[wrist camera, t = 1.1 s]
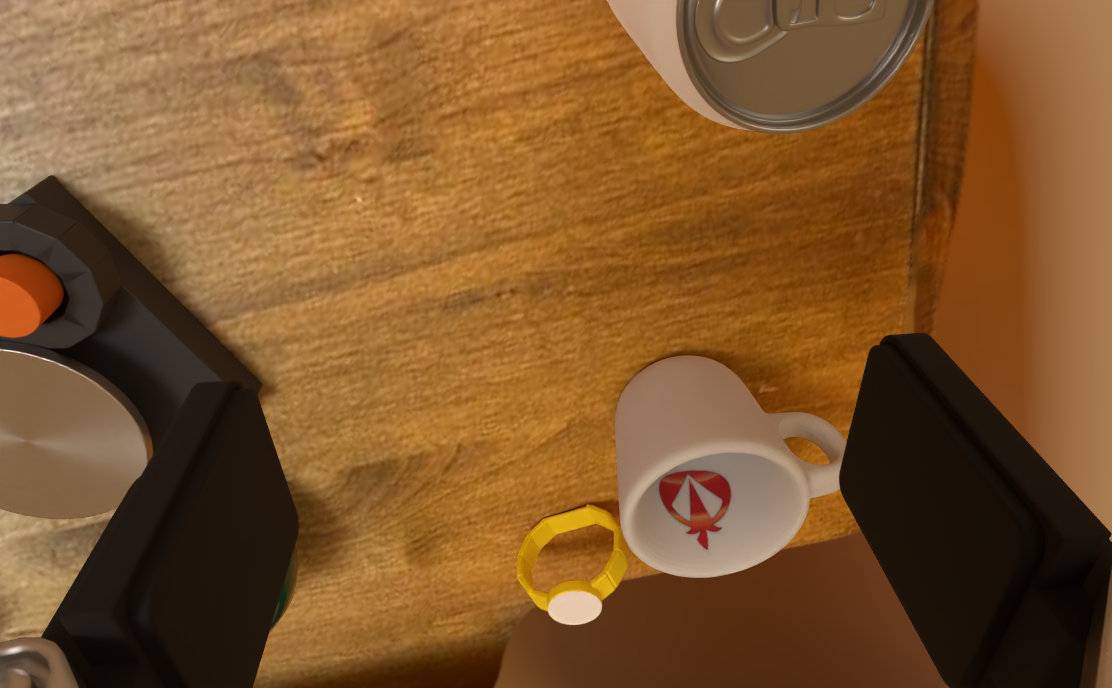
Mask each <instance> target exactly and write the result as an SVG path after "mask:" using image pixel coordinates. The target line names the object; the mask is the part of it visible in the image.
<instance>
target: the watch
mask: <svg viewBox="0 0 1112 688" xmlns="http://www.w3.org/2000/svg"><path fill="white" fill-rule="evenodd" d="M593 524H599V525H601V526H603V527H606V528H608V529H610V530H612V531H613V532H614V551H613V553H612V555H611V557H610V559H609V561H608V562H607V564H606V566H605V568H604V570H603V572H601V573H600V574H599V575H598V576H597V577H595V578H594V579H593V580H592V581H591V582H589V583H588V582H584V581H576V580H572V581H566V582H562V583H560V584H557V585H556V586H554V587H553V588H552V589H551V590H550V591H549V593H548V594H547V593H544V592H541V591H538V590H535V589H533V582H532V568H533V565H534V563H535V561H536V559H537V556H538V554H539V552H540V550H541V549H542V548H543V547H544V546H545V545H546V544H547V543H548V542H549V541H550V540H551V539H552V538H553V537H554V536H555V535H556V534H560V533H564V532H567V531H571V530H575V529H578V528H582V527H586V526H589V525H593ZM517 556H518V557H517V577H518V580H519V582H520V583H521V585H522V586H523V587H524V589H525V590H526V591H527V593H528V594H529V596H530V597H531V598H532V600H533V601H534V602H535V604H536V605H537V607H539V608H540V609H543V610H546V611H548V613H549V615H550V616H551V617H552V618H553V619H554V620H556V621H558V622H560V623H563V624H568V625H578V624H584V623H587V622H589V621H592V620H593V619H595V618H596V617H597V616H598V615H599V614H600V612H601V609H602V600H603V599H605V598H606V597H607V596H608V595H609V594H610V593H612V592H613V591H614V590H615V588H616V587H617V586H618V584H619V582H620V581H621V579H622V577H623V575H624V573H625V571H626V569H627V564H628V544H627V542H626V540H625V538H624V536H623V533H622V530H621V528H620V527H619V525H618V524H617V522H616V521H615V519H614V518H613V516H612V515H611V513H609V512H608V511H606V510H604V509H601V508H599V507H596V506H594V505H589V504H587V505H586V507H582V508H578V509H575V510H572V511H569V512H565V513H561V514H558V515H554V516H551V517H547V518H543V519H542V520H541V521H540V522H539V523H538V524H537V525H536V526H535V527H534V528H533V529H532V530H531V531H530V532H529V533H528V536H526V537H525V540H524V542H523V544H522V546H521V548H520V550H519V553H518V555H517Z"/></svg>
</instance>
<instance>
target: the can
mask: <svg viewBox="0 0 1112 688" xmlns="http://www.w3.org/2000/svg"><path fill="white" fill-rule="evenodd" d="M607 2H608V4H609V6H610V8H611V10H612V11H613V13H614V15H615V16H616V18H617V19H618V21H619V22H620V23H621V25H622V26H623V28H624V29H625V30H626V32H627V33H628V34H629V36H630V37H631V38H632V40H633V41H634V42H635V44H636V45H637V46H638V47H639V49H640V50H641V51H642V53H643V54H644V55H645V57H646V58H647V59H648V61H649V62H650V63H651V64H652V66H653V67H654V68H655V70H656V71H657V72H658V73H659V75H660V76H661V77H662V78H663V80H664V81H665V82H666V83H667V84H668V86H669V87H670V88H671V89H672V90H673V91H674V92H675V93H676V94H677V95H678V97H679V98H680V99H682V100H683V101H684V102H685V103H686V104H687V105H688V106H690V107H691V108H692V109H694V110H695V111H697V112H698V113H700V114H701V115H703V116H705V117H706V118H708V119H710V120H712V121H715V122H717V123H719V124H722V125H725V126H728V127H732V128H737V129H742V130H752V131H757V132H761V133H768V134H795V133H802V132H807V131H811V130H815V129H818V128H821V127H824V126H827V125H829V124H832V123H834V122H836V121H838V120H840V119H842V118H844V117H846V116H848V115H850V114H851V113H853V112H855V111H856V110H858V109H859V108H861V107H862V106H863V105H865V104H866V103H867V102H869V101H870V100H871V99H872V98H874V97H875V96H876V95H877V94H878V93H879V92H880V91H881V90H882V89H883V88H884V87H885V86H886V85H887V84H888V83H889V82H890V81H891V80H892V79H893V78H894V77H895V75H896V74H897V73H898V72H899V70H900V69H901V68H902V67H903V65H904V64H905V62H906V61H907V59H908V58H909V56H910V55H911V53H912V52H913V50H914V48H915V46H916V45H917V43H918V41H919V39H920V37H921V35H922V33H923V31H924V28H925V26H926V23H927V21H928V18H929V15H930V12H931V9H932V6H933V2H934V0H607Z"/></svg>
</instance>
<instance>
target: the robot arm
mask: <svg viewBox="0 0 1112 688" xmlns="http://www.w3.org/2000/svg"><path fill="white" fill-rule="evenodd" d="M839 485H840V490H841V493H842V495H843V498H844V500H845V501H846V503H847V505H848V507H849V509H850V511H851V512H852V514H853V516H854V518H855V520H856V522H857V523H858V525H859V527H860V529H861V531H862V532H863V534H864V536H865V538H866V540H867V542H868V544H869V545H870V547H871V549H872V551H873V553H874V554H875V556H876V558H877V560H878V562H879V564H880V566H881V567H882V569H883V571H884V573H885V575H886V577H887V578H888V580H889V582H890V584H891V586H892V588H893V589H894V591H895V593H896V595H897V597H898V598H899V600H900V602H901V604H902V606H903V607H904V609H905V611H906V613H907V615H908V617H909V619H910V620H911V622H912V624H913V626H914V628H915V630H916V631H917V633H918V635H919V637H920V639H921V641H922V642H923V644H924V646H925V648H926V650H927V651H928V653H929V655H930V657H931V659H932V661H933V663H934V664H935V666H936V668H937V670H938V672H939V674H940V675H941V677H942V679H943V680H944V682H945V683H946V684H947V685H948V686H949V687H950V688H1112V542H1111V541H1110V540H1109V538H1110V536H1111V532H1110V531H1109V530H1108V529H1107V528H1106V527H1105V526H1104V525H1103V524H1102V523H1101V522H1100V520H1099V519H1098V518H1097V517H1096V516H1095V515H1094V514H1093V513H1092V512H1091V511H1090V510H1089V509H1088V507H1087V506H1086V505H1085V504H1084V503H1083V502H1082V501H1081V500H1080V499H1079V498H1078V497H1077V495H1076V494H1075V493H1074V492H1073V491H1072V490H1071V489H1070V488H1069V487H1068V486H1067V485H1066V483H1065V482H1064V481H1063V480H1062V479H1061V478H1060V477H1059V476H1058V475H1057V474H1056V473H1055V471H1054V470H1053V469H1052V468H1051V467H1050V466H1049V465H1048V464H1047V463H1046V462H1045V460H1044V459H1043V458H1042V457H1041V456H1040V455H1039V454H1038V453H1037V452H1036V451H1035V450H1034V448H1033V447H1031V445H1030V444H1029V443H1028V442H1027V441H1026V440H1025V439H1024V438H1023V437H1022V435H1021V434H1020V433H1019V432H1018V431H1017V430H1016V429H1015V428H1014V427H1013V426H1012V425H1011V423H1009V421H1008V420H1007V419H1006V418H1005V417H1004V416H1003V415H1002V414H1001V413H1000V411H999V410H998V409H997V408H996V407H995V406H994V405H993V404H992V403H991V402H990V401H989V399H988V398H987V397H986V396H985V395H984V394H983V393H982V392H981V391H980V390H979V389H978V387H976V385H975V384H974V383H973V382H972V381H971V380H970V379H969V378H968V377H967V375H966V374H965V373H964V372H963V371H962V370H961V369H960V368H959V367H958V366H957V365H956V363H955V362H954V361H953V360H952V359H951V358H950V357H949V356H948V355H947V354H946V353H945V352H944V350H943V349H942V348H941V347H940V346H939V345H938V344H937V343H936V342H935V341H934V339H933V338H932V337H930V336H929V335H928V334H925V333H913V334H899V335H888V336H885V337H884V338H883V339H882V340H881V342H880V345H875V346H873V347H872V348H871V349H870V352H869V354H868V358H867V362H866V366H865V370H864V374H863V379H862V383H861V387H860V391H859V395H858V399H857V403H856V407H855V411H854V415H853V419H852V423H851V427H850V431H849V435H848V439H847V443H846V447H845V451H844V456H843V460H842V464H841V468H840V472H839ZM298 529H299V522H298V515H297V512H296V509H295V506H294V503H293V500H292V497H291V494H290V491H289V488H288V485H287V482H286V479H285V476H284V473H283V470H282V467H281V464H280V461H279V458H278V455H277V452H276V449H275V446H274V443H273V440H272V437H271V434H270V432H269V429H268V426H267V423H266V420H265V417H264V414H263V411H262V408H261V405H260V402H259V399H258V396H257V394H256V392H255V391H254V390H253V389H244V386H243V385H242V384H241V382H240V381H237V380H230V381H215V382H200V383H197V384H195V385H194V387H193V388H192V389H191V391H190V393H189V394H188V396H187V398H186V399H185V401H184V403H183V405H182V406H181V408H180V410H179V411H178V413H177V415H176V417H175V418H174V420H173V422H172V423H171V425H170V427H169V428H168V430H167V432H166V434H165V435H164V437H163V439H162V440H161V442H160V444H159V446H158V447H157V449H156V451H155V452H154V454H153V456H152V458H151V459H150V461H149V463H148V464H147V466H146V468H145V469H144V471H143V473H142V475H141V476H140V477H139V478H137V479H136V480H135V482H134V483H133V484H132V485H131V487H130V488H129V490H128V491H127V493H126V495H125V496H124V498H123V500H122V501H121V503H120V505H119V507H118V508H117V510H116V512H115V513H114V515H113V517H112V518H111V520H110V522H109V523H108V525H107V527H106V528H105V530H104V532H103V534H102V535H101V537H100V539H99V540H98V542H97V544H96V545H95V547H94V549H93V550H92V552H91V554H90V556H89V557H88V559H87V561H86V562H85V564H84V566H83V567H82V569H81V571H80V572H79V574H78V576H77V577H76V579H75V581H74V583H73V584H72V586H71V588H70V589H69V591H68V593H67V594H66V596H65V598H64V599H63V601H62V603H61V604H60V606H59V608H58V610H57V611H56V613H55V615H54V616H53V618H52V620H51V621H50V623H49V625H48V626H47V628H46V630H45V632H44V633H43V635H42V637H21V638H18V639H14V640H10V641H6V642H2V643H0V688H253V684H254V681H255V678H256V674H257V671H258V668H259V664H260V661H261V658H262V654H263V651H264V648H265V644H266V641H267V638H268V634H269V631H270V628H271V624H272V621H273V618H274V614H275V611H276V608H277V604H278V601H279V597H280V594H281V591H282V587H283V584H284V581H285V577H286V574H287V571H288V567H289V564H290V561H291V557H292V554H293V551H294V547H295V544H296V541H297V536H298Z"/></svg>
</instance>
